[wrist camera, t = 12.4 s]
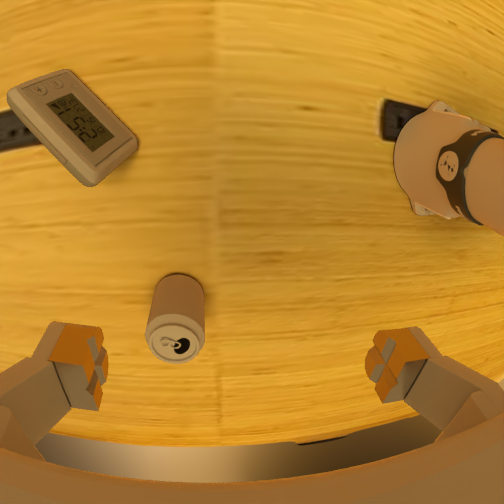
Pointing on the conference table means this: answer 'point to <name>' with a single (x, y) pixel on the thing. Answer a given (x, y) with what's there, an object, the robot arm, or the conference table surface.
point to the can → (176, 320)
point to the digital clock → (73, 125)
